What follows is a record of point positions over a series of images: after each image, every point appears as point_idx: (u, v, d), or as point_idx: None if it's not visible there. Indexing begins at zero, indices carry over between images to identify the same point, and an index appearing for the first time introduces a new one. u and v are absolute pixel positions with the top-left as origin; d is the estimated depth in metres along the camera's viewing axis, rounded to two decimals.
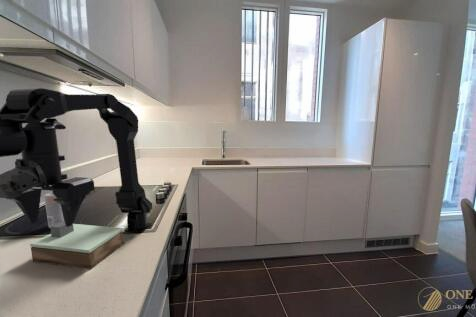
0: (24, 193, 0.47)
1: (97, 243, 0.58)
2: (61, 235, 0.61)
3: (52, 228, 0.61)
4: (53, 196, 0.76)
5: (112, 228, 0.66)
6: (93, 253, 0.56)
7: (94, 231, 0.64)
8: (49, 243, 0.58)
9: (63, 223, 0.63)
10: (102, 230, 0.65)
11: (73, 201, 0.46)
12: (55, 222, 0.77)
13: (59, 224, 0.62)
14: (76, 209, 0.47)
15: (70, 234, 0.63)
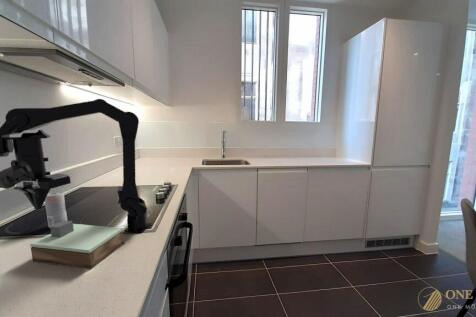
0: (30, 186, 0.62)
1: (97, 243, 0.58)
2: (61, 235, 0.61)
3: (52, 228, 0.61)
4: (53, 196, 0.76)
5: (112, 228, 0.66)
6: (93, 253, 0.56)
7: (94, 231, 0.64)
8: (49, 243, 0.58)
9: (63, 223, 0.63)
10: (102, 230, 0.65)
11: (41, 191, 0.63)
12: (55, 222, 0.77)
13: (59, 224, 0.62)
14: (44, 196, 0.64)
15: (70, 234, 0.63)
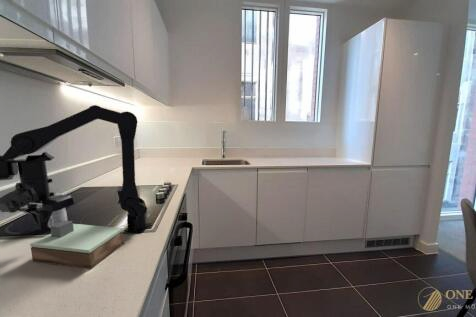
0: (34, 207, 0.63)
1: (97, 243, 0.58)
2: (61, 235, 0.61)
3: (52, 228, 0.61)
4: (53, 196, 0.76)
5: (112, 228, 0.66)
6: (93, 253, 0.56)
7: (94, 231, 0.64)
8: (49, 243, 0.58)
9: (63, 223, 0.63)
10: (102, 230, 0.65)
11: (45, 211, 0.64)
12: (55, 222, 0.77)
13: (59, 224, 0.62)
14: (47, 217, 0.65)
15: (70, 234, 0.63)
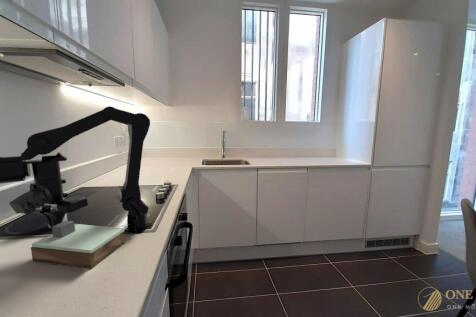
0: (48, 208, 0.62)
1: (99, 243, 0.58)
2: (63, 235, 0.61)
3: (54, 228, 0.61)
4: None
5: (114, 228, 0.66)
6: (93, 253, 0.56)
7: (96, 231, 0.64)
8: (51, 243, 0.58)
9: (65, 223, 0.63)
10: (104, 230, 0.65)
11: (59, 213, 0.63)
12: None
13: (61, 224, 0.62)
14: (61, 218, 0.64)
15: (72, 234, 0.63)
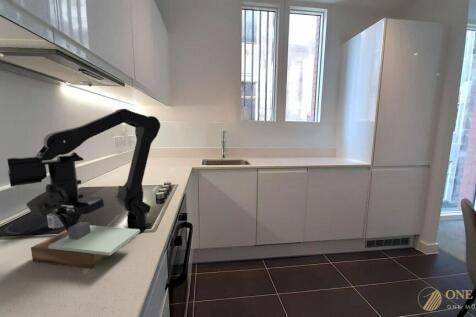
0: (64, 209, 0.61)
1: (116, 245, 0.57)
2: (79, 237, 0.60)
3: (70, 230, 0.60)
4: None
5: (129, 230, 0.65)
6: None
7: (112, 232, 0.63)
8: (68, 245, 0.57)
9: (80, 225, 0.62)
10: (119, 232, 0.64)
11: (74, 214, 0.62)
12: (55, 222, 0.77)
13: (76, 226, 0.61)
14: (76, 219, 0.63)
15: (87, 236, 0.62)
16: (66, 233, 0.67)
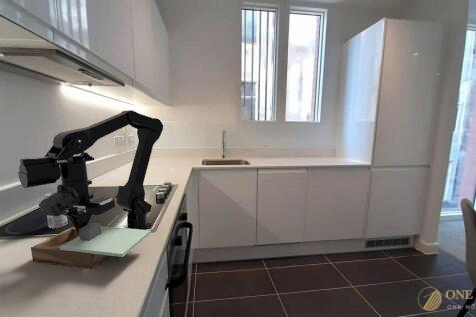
0: (74, 210, 0.61)
1: (129, 246, 0.56)
2: (90, 238, 0.59)
3: (81, 231, 0.59)
4: None
5: (140, 230, 0.64)
6: None
7: (123, 233, 0.63)
8: (80, 246, 0.56)
9: (91, 225, 0.61)
10: (130, 233, 0.63)
11: (85, 214, 0.61)
12: (55, 222, 0.77)
13: (87, 227, 0.61)
14: (87, 220, 0.62)
15: (99, 237, 0.61)
16: (66, 233, 0.67)
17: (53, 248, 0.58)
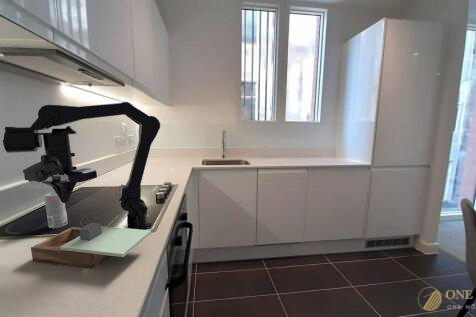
0: (58, 180, 0.64)
1: (129, 246, 0.56)
2: (90, 238, 0.59)
3: (81, 231, 0.59)
4: (53, 196, 0.76)
5: (141, 231, 0.64)
6: None
7: (123, 234, 0.63)
8: (80, 246, 0.56)
9: (92, 225, 0.61)
10: (131, 233, 0.63)
11: (68, 185, 0.65)
12: (55, 222, 0.77)
13: (88, 227, 0.61)
14: (70, 190, 0.66)
15: (99, 237, 0.61)
16: (66, 233, 0.67)
17: (53, 248, 0.58)
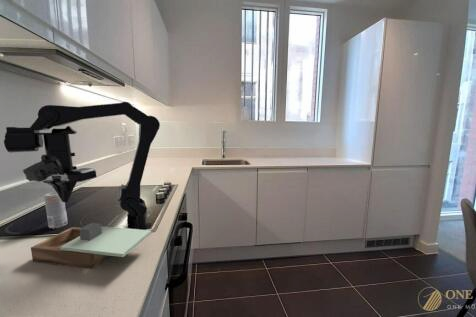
0: (58, 180, 0.65)
1: (129, 246, 0.56)
2: (90, 238, 0.59)
3: (81, 231, 0.59)
4: (53, 196, 0.76)
5: (141, 231, 0.64)
6: None
7: (123, 234, 0.63)
8: (80, 246, 0.56)
9: (92, 225, 0.61)
10: (131, 233, 0.63)
11: (68, 184, 0.66)
12: (55, 222, 0.77)
13: (88, 227, 0.61)
14: (70, 190, 0.66)
15: (99, 237, 0.61)
16: (66, 233, 0.67)
17: (53, 248, 0.58)
